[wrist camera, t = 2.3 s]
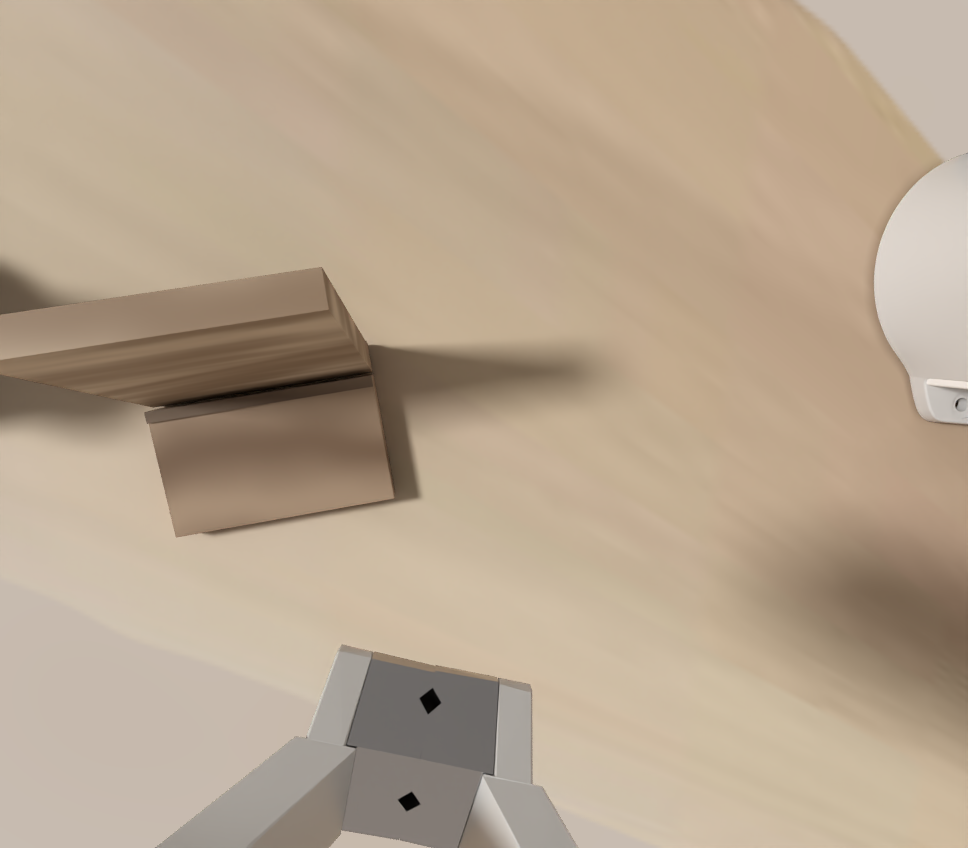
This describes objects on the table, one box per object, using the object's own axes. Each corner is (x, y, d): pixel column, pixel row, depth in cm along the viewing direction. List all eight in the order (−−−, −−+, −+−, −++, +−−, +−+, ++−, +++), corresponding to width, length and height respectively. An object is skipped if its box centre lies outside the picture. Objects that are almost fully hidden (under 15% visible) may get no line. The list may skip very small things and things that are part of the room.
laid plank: (395, 492, 37) (393, 499, 35) (185, 529, 36) (174, 538, 34) (373, 373, 36) (371, 375, 34) (157, 409, 35) (144, 412, 33)
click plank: (372, 372, 36) (328, 309, 22) (153, 407, 35) (-40, 365, 21) (367, 344, 36) (321, 264, 22) (149, 378, 35) (-46, 318, 21)
